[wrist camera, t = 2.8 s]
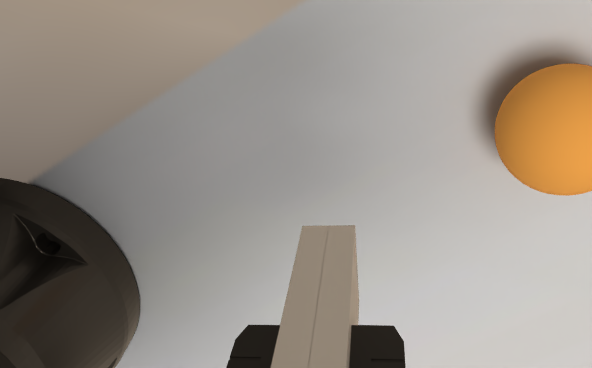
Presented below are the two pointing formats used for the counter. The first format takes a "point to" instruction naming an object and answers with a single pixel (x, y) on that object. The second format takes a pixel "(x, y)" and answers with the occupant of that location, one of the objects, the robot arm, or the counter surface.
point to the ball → (549, 130)
